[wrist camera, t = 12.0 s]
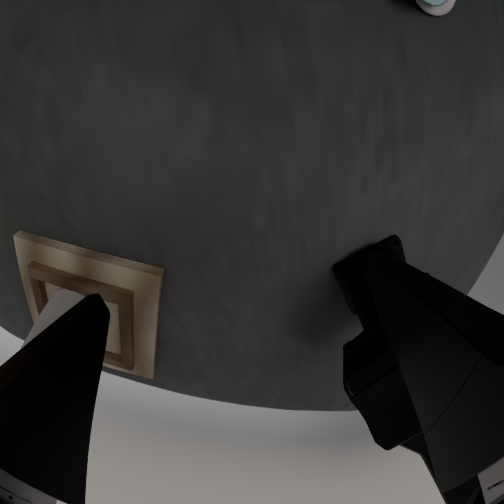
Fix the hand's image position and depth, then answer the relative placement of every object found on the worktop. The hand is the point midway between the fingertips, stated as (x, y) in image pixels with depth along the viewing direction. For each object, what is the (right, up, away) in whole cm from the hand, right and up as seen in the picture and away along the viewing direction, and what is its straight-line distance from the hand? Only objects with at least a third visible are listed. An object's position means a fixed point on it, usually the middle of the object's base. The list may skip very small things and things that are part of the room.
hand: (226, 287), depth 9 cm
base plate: (-17, -5, +18) cm, 25 cm away
